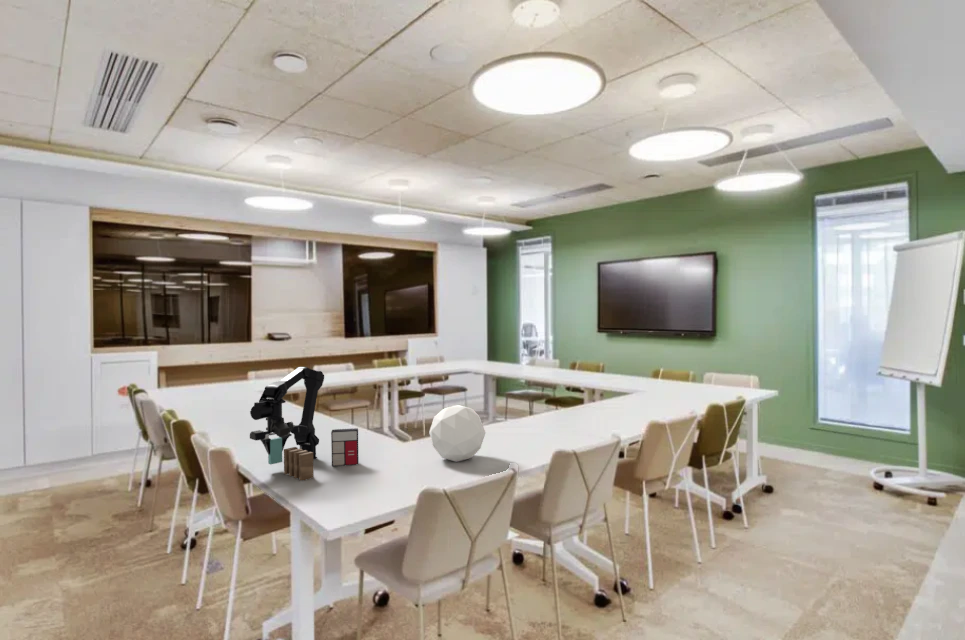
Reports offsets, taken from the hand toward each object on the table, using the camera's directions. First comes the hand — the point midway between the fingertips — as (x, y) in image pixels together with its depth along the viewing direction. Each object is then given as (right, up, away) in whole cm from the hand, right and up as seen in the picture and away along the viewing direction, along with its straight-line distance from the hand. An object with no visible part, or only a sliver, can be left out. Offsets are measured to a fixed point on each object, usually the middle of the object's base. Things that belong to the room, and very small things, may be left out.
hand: (275, 452), depth 218 cm
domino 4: (+13, -8, -8) cm, 17 cm away
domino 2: (+7, -8, -2) cm, 11 cm away
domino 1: (0, -4, 0) cm, 4 cm away
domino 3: (+10, -8, -5) cm, 14 cm away
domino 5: (+16, -8, -10) cm, 21 cm away
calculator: (+27, -7, +8) cm, 29 cm away
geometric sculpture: (+75, -7, +15) cm, 76 cm away
